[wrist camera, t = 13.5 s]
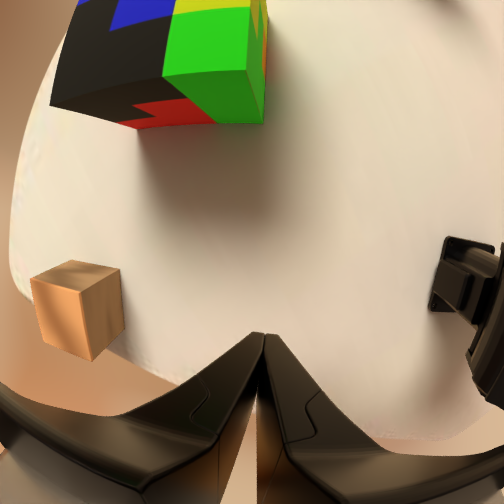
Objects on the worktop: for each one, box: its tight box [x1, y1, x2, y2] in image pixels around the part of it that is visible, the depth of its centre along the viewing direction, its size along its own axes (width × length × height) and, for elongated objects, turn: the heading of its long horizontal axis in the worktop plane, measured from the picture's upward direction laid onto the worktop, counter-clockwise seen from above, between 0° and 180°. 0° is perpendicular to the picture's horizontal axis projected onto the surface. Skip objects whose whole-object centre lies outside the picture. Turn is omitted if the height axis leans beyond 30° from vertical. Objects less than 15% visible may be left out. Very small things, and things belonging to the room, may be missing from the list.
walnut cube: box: [30, 260, 125, 362], centre depth 20 cm, size 6×6×6 cm
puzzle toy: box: [49, 0, 268, 129], centre depth 13 cm, size 10×10×10 cm
